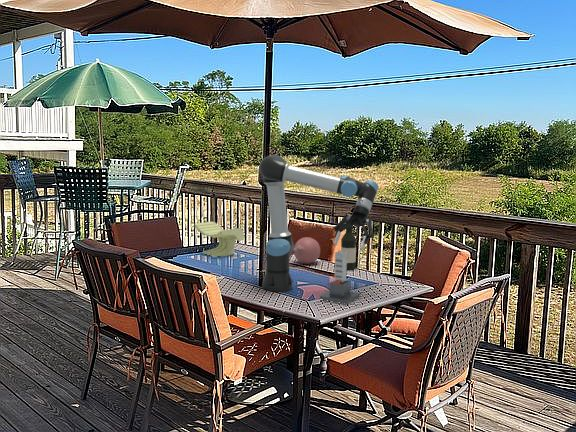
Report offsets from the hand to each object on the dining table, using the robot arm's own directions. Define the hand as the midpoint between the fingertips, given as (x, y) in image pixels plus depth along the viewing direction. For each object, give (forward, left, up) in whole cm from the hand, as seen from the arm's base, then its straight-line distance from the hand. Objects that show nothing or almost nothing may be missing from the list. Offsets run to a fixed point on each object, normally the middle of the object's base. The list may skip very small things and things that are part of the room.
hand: (348, 246), depth 278 cm
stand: (-7, -7, -23) cm, 25 cm away
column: (-7, -7, -21) cm, 23 cm away
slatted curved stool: (-40, +101, -23) cm, 111 cm away
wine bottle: (+21, +44, -23) cm, 54 cm away
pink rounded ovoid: (+1, +61, -23) cm, 65 cm away
